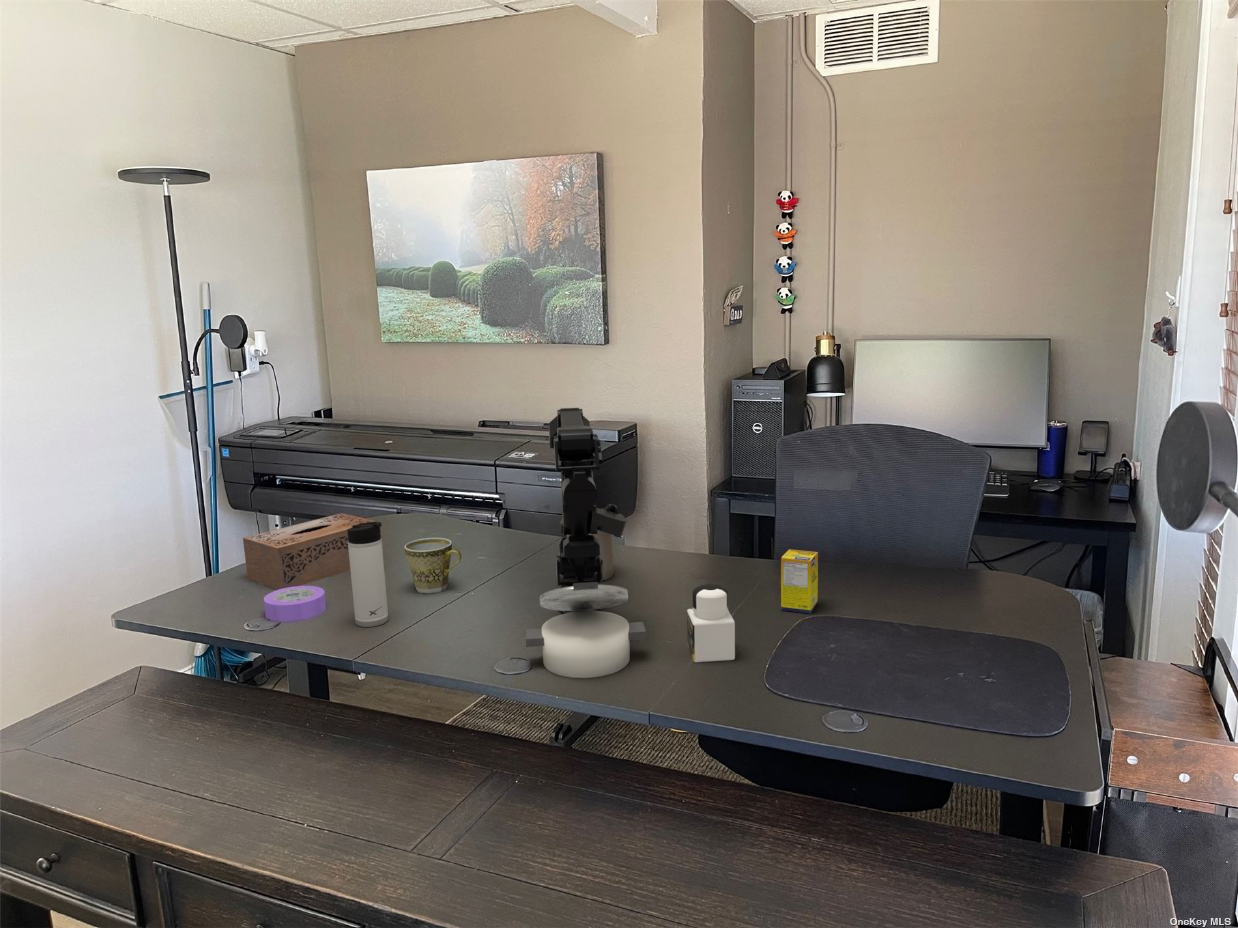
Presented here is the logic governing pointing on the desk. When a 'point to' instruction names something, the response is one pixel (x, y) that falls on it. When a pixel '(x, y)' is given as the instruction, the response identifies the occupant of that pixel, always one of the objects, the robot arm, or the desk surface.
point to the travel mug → (367, 574)
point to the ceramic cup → (430, 563)
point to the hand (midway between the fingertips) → (581, 580)
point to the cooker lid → (583, 597)
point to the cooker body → (585, 643)
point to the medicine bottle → (710, 625)
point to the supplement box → (799, 581)
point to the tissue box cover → (300, 552)
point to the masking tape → (294, 603)
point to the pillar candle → (605, 553)
